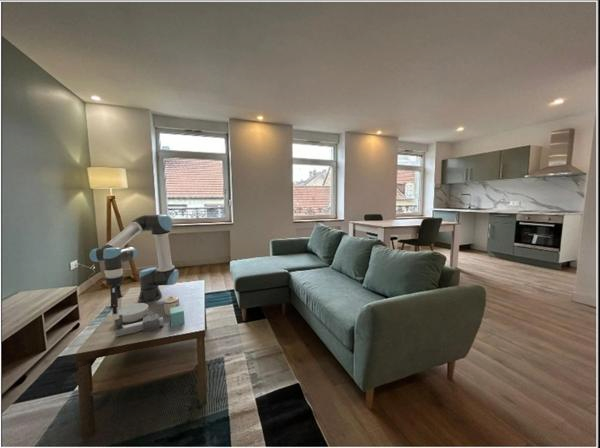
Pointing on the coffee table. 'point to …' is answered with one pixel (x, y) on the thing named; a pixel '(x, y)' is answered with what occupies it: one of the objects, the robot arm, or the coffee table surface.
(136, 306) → the cereal bowl
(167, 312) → the teacup with lid
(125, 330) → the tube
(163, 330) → the coffee table surface
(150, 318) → the sleeve
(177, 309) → the socket
